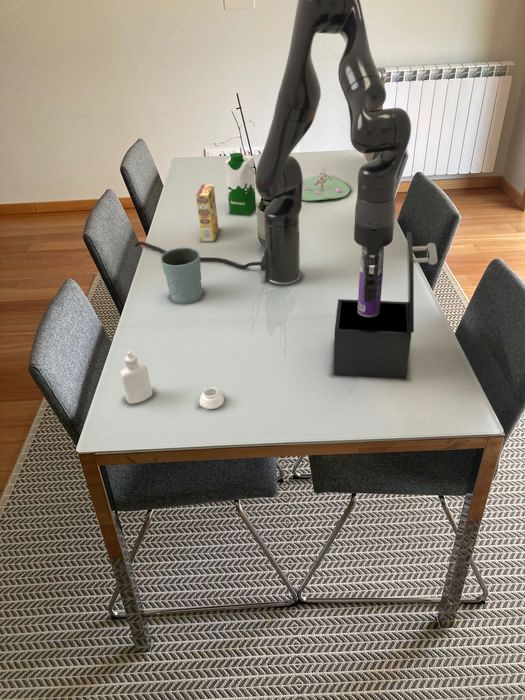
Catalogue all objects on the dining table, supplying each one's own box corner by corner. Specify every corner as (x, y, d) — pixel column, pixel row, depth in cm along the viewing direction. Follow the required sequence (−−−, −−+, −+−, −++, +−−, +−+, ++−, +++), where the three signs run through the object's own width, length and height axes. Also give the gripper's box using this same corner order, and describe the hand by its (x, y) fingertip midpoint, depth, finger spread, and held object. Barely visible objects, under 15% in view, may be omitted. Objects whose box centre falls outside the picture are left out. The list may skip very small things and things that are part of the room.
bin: (333, 375, 132) (334, 330, 125) (336, 341, 142) (338, 299, 135) (406, 379, 129) (411, 334, 122) (404, 345, 139) (409, 302, 132)
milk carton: (226, 214, 204) (221, 156, 193) (236, 204, 211) (231, 147, 199) (250, 217, 202) (246, 158, 190) (259, 206, 209) (256, 148, 197)
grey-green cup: (211, 290, 164) (206, 250, 157) (192, 308, 157) (187, 268, 150) (179, 283, 168) (173, 244, 161) (160, 301, 160) (152, 261, 153)
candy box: (214, 241, 188) (209, 195, 179) (201, 241, 188) (195, 195, 179) (219, 229, 195) (214, 184, 186) (206, 229, 196) (201, 184, 187)
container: (379, 318, 126) (384, 253, 117) (356, 316, 127) (360, 252, 118) (380, 306, 129) (385, 243, 121) (358, 304, 130) (361, 242, 121)
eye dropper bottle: (127, 391, 131) (117, 347, 123) (153, 389, 131) (144, 345, 123) (125, 404, 127) (113, 359, 120) (151, 403, 127) (142, 358, 120)
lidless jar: (228, 402, 126) (214, 391, 129) (227, 391, 124) (212, 380, 127) (209, 413, 123) (195, 402, 127) (208, 403, 122) (193, 391, 125)
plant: (290, 178, 229) (289, 155, 223) (344, 175, 228) (345, 152, 223) (294, 204, 208) (294, 179, 203) (354, 201, 208) (355, 176, 203)
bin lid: (409, 260, 113) (439, 259, 111) (407, 231, 123) (434, 230, 121) (409, 332, 122) (437, 332, 121) (407, 300, 132) (433, 299, 131)
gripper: (356, 203, 122) (352, 276, 132) (353, 233, 110) (349, 312, 120) (393, 203, 120) (387, 278, 131) (395, 235, 109) (388, 313, 119)
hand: (369, 293), depth 125 cm, fingers closed on container, 4 cm apart
